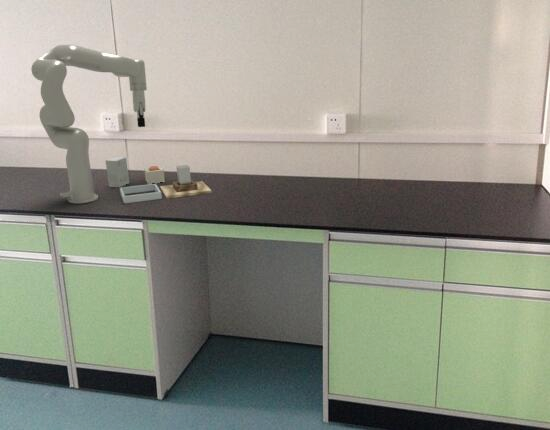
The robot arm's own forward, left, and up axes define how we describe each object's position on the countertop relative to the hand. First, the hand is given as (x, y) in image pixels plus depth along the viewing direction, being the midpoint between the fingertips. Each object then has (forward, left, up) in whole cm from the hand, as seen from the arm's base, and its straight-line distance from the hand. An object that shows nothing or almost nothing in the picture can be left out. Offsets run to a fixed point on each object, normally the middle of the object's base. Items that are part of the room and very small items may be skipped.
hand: (141, 126), depth 261 cm
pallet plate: (+13, -27, -27) cm, 40 cm away
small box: (-14, -1, -27) cm, 30 cm away
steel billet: (+13, -26, -26) cm, 39 cm away
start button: (+3, -3, -23) cm, 23 cm away
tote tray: (-7, -27, -27) cm, 38 cm away
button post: (+3, -3, -27) cm, 27 cm away
